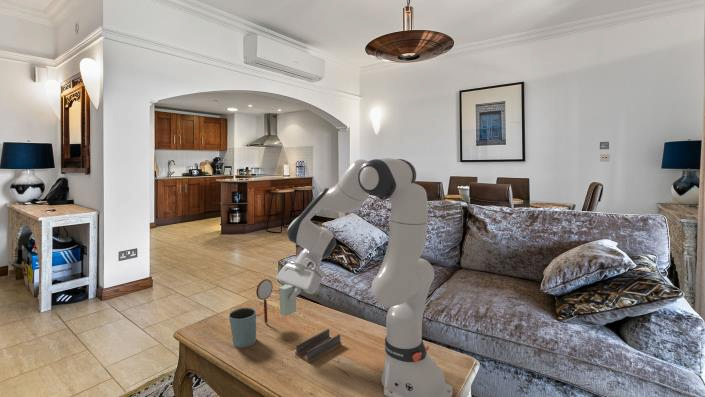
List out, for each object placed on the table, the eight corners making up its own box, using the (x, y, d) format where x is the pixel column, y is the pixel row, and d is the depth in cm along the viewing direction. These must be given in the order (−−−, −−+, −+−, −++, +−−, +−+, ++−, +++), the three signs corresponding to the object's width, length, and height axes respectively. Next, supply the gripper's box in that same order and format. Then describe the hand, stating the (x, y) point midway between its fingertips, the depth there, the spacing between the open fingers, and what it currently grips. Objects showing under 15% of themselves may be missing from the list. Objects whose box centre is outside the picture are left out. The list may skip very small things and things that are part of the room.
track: (341, 345, 134) (341, 335, 134) (309, 363, 123) (309, 352, 122) (327, 337, 140) (327, 328, 139) (295, 354, 128) (294, 344, 128)
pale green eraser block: (296, 311, 130) (295, 285, 129) (285, 316, 127) (284, 289, 126) (291, 309, 132) (290, 283, 131) (280, 313, 129) (279, 287, 128)
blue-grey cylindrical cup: (257, 347, 134) (255, 317, 132) (229, 350, 131) (227, 320, 130) (257, 333, 143) (256, 306, 142) (231, 337, 141) (229, 309, 139)
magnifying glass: (259, 328, 147) (257, 283, 145) (257, 327, 148) (254, 282, 146) (274, 320, 155) (273, 277, 152) (272, 319, 156) (270, 276, 153)
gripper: (284, 256, 140) (264, 287, 134) (319, 266, 126) (298, 300, 120) (293, 264, 143) (275, 294, 137) (328, 275, 130) (309, 309, 124)
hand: (286, 297), depth 128 cm, fingers closed on pale green eraser block, 3 cm apart
